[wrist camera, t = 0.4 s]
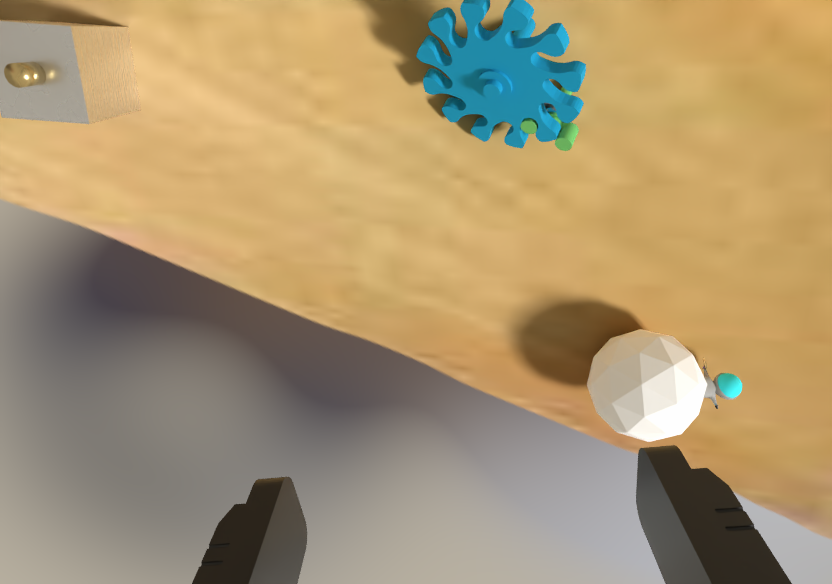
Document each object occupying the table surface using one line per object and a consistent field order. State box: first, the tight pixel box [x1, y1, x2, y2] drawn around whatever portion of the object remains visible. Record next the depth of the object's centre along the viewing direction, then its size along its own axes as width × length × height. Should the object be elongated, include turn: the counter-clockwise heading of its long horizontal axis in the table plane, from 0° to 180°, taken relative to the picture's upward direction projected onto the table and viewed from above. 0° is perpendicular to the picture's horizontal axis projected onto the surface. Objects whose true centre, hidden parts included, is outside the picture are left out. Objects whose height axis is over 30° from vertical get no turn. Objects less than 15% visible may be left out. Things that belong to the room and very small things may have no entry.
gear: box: [416, 0, 586, 151], centre depth 32 cm, size 11×6×10 cm
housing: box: [0, 20, 141, 124], centre depth 31 cm, size 5×5×8 cm
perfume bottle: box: [587, 329, 742, 442], centre depth 40 cm, size 8×8×12 cm
